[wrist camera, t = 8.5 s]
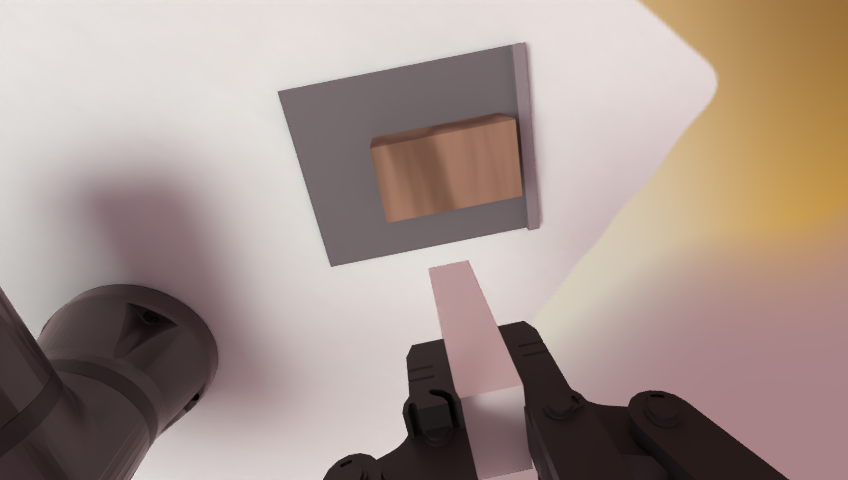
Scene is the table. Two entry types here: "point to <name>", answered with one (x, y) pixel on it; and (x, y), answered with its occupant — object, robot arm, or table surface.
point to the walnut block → (447, 166)
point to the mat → (397, 112)
